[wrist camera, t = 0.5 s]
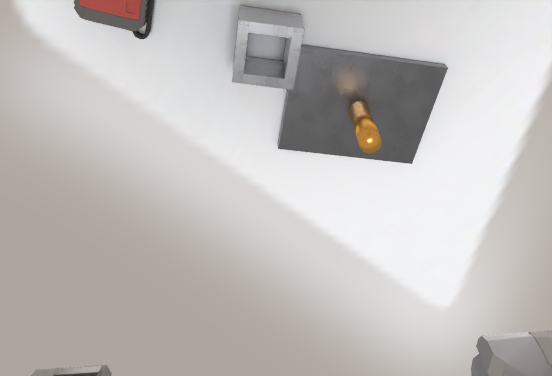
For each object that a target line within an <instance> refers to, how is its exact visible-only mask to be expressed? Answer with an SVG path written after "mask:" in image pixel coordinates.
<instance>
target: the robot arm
mask: <svg viewBox="0 0 552 376" xmlns="http://www.w3.org/2000/svg"><path fill="white" fill-rule="evenodd" d="M476 347H477V349H478V352H479V354H478V355H477V356H476V357H475V358H473V361H472V367H471V373H472V376H552V331H549V330H547V331H537V332H518V333H508V334H496V335H486V336H481V337H480V338H479V339H478V342H477V345H476ZM31 376H111V372H110V370H109V368H108V366H107V365H100V366H85V367H69V368H52V369H38V370H36V371H35V372H34V373H33V374H32V375H31Z"/></svg>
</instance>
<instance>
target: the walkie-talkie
mask: <svg viewBox="0 0 552 376" xmlns="http://www.w3.org/2000/svg"><path fill="white" fill-rule="evenodd" d="M74 3H75V7H74V9H75V10H76V12H77V13H78V15H79V16H80V17H81V18H83V19H85V20H89V21H93V22H97V23H101V24H106V25H110V26H114V27H118V28H122V29H126V30H130V31H133V34H134V35H135V37H137V38H139V39H145V38H146V37H147V36H148V35H149V33H150V29H151V21H152V12H153V4H154V0H75V1H74ZM146 22H147V25H146V31H145V33H144V34H141V33H139V32H138V30H139V29H140V28H142V27H143V26H144V25H145V24H146Z"/></svg>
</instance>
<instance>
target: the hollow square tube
mask: <svg viewBox="0 0 552 376" xmlns="http://www.w3.org/2000/svg"><path fill="white" fill-rule="evenodd" d="M248 33H255V34H263V35H270V36H277V37H284V38H287V39H286V45H285V51H284V57H283V61H278V60H271V59H263V58H256V57H248V56H246V48H247V40H248ZM303 34H304V26H303V21H302V17H301V14H296V13H289V12H283V11H276V10H269V9H262V8H255V7H248V6H241V5H240V10H239V20H238V29H237V39H236V48H235V58H234V68H233V78H232V82H236V83H244V84H252V85H260V86H268V87H276V88H283V89H291V90H293V88H294V82H295V77H296V72H297V66H298V61H299V55H300V50H301V44H302V39H303Z"/></svg>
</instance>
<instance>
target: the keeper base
mask: <svg viewBox="0 0 552 376" xmlns="http://www.w3.org/2000/svg"><path fill="white" fill-rule="evenodd" d="M447 69H448V68H447V67H446V65H445V64H439V63H432V62H424V61H417V60H410V59H403V58H395V57H388V56H381V55H373V54H366V53H359V52H352V51H344V50H337V49H330V48H323V47H315V46H308V45H301V50H300V55H299V61H298V66H297V72H296V77H295V82H294V88H293V90H291V89H287V95H286V101H285V106H284V112H283V118H282V123H281V129H280V135H279V140H278V149H286V150H295V151H304V152H312V153H321V154H330V155H339V156H348V157H357V158H366V159H374V160H383V161H392V162H401V163H410V164H412V162H413V159H414V157H415V154H416V151H417V149H418V146H419V143H420V141H421V138H422V135H423V133H424V130H425V127H426V125H427V122H428V119H429V117H430V114H431V111H432V109H433V106H434V103H435V101H436V98H437V95H438V93H439V90H440V87H441V85H442V82H443V79H444V77H445V74H446V71H447Z"/></svg>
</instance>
